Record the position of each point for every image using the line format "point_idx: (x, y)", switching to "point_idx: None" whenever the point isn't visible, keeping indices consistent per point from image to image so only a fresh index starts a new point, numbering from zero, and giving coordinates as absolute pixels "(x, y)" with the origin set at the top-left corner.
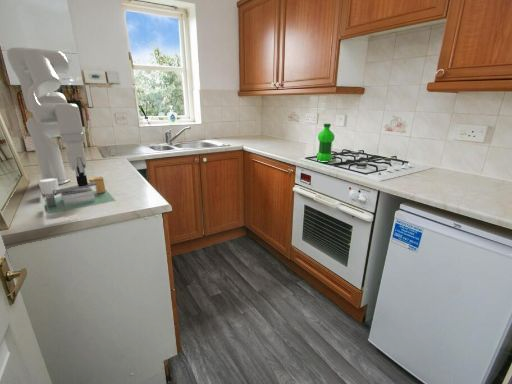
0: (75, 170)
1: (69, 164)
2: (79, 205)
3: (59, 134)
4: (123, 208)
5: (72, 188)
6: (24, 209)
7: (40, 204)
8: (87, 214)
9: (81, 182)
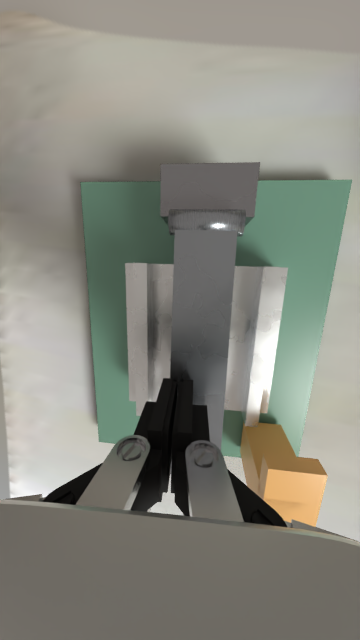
0: (193, 504)
1: (210, 636)
2: (119, 319)
3: None
4: (47, 432)
5: (174, 336)
6: (308, 71)
7: (337, 160)
8: (50, 325)
9: (143, 413)
